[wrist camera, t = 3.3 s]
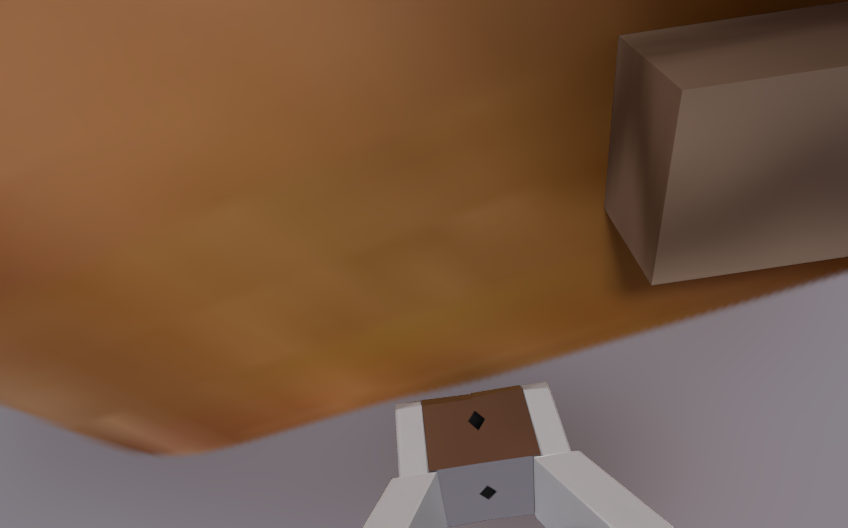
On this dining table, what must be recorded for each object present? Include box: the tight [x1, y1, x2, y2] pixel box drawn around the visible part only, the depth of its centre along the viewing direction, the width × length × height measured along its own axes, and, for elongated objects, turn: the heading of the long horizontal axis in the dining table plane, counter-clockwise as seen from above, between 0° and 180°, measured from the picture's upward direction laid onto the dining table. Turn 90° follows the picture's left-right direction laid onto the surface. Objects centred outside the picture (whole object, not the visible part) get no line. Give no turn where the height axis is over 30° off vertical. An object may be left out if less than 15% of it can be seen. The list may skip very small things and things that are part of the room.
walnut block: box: [604, 1, 848, 285], centre depth 17 cm, size 6×10×4 cm, turn 97°
